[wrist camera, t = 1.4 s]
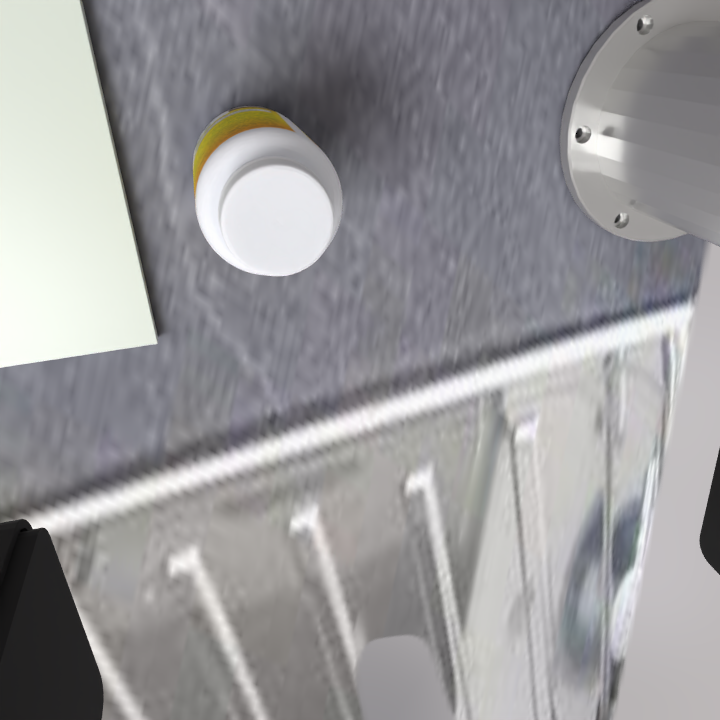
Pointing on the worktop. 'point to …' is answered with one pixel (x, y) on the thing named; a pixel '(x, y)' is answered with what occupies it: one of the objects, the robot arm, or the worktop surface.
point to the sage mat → (61, 197)
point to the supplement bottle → (264, 192)
